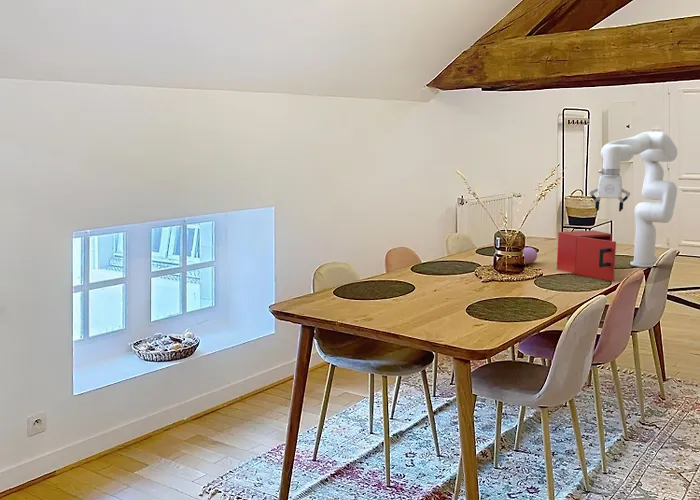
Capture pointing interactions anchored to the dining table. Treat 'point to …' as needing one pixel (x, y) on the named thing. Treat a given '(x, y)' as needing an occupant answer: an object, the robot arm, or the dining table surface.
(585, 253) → the door
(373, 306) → the dining table surface
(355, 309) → the dining table surface
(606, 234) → the cabinet
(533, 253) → the toy
